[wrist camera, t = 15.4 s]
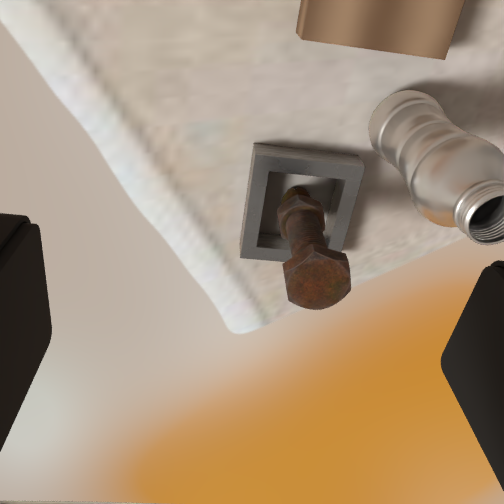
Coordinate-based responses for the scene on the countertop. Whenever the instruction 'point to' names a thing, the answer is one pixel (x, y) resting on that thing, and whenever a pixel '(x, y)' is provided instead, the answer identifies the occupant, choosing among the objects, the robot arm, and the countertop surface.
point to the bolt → (310, 254)
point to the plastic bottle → (442, 165)
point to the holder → (302, 163)
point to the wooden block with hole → (382, 24)
